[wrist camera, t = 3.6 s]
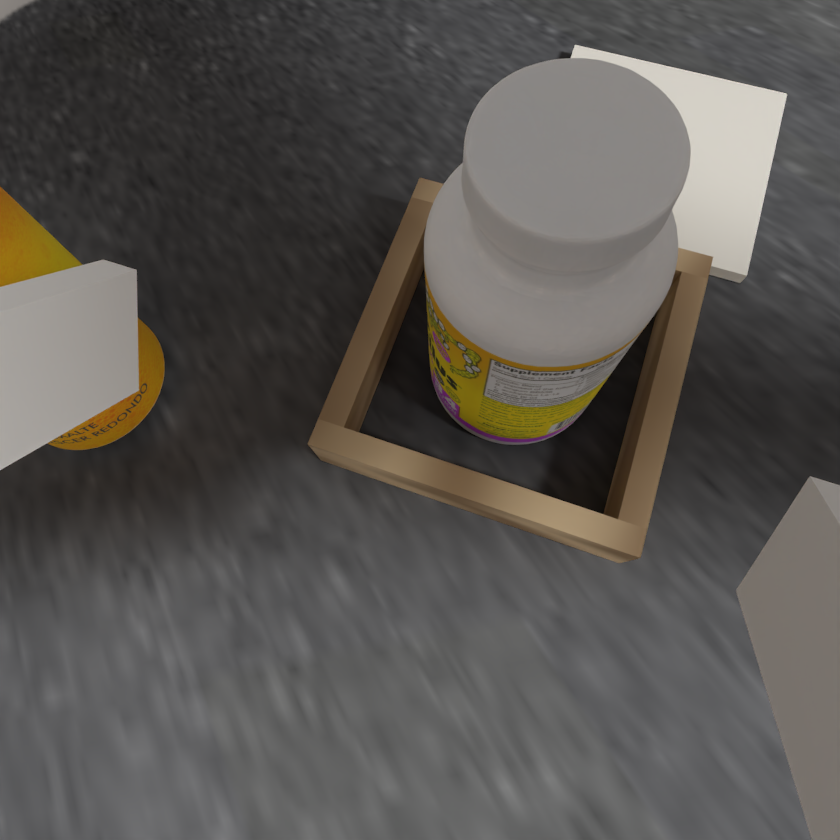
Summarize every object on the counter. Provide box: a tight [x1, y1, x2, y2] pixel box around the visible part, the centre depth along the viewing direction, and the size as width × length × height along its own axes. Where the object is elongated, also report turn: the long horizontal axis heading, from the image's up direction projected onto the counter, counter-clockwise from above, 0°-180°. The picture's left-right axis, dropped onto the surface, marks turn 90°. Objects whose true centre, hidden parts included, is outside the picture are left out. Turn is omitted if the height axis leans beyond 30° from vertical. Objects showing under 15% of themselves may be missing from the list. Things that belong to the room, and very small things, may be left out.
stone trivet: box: [571, 45, 787, 283], centre depth 27 cm, size 10×10×1 cm
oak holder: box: [308, 178, 713, 563], centre depth 23 cm, size 12×12×2 cm
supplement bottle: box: [424, 58, 691, 445], centre depth 18 cm, size 7×7×13 cm
